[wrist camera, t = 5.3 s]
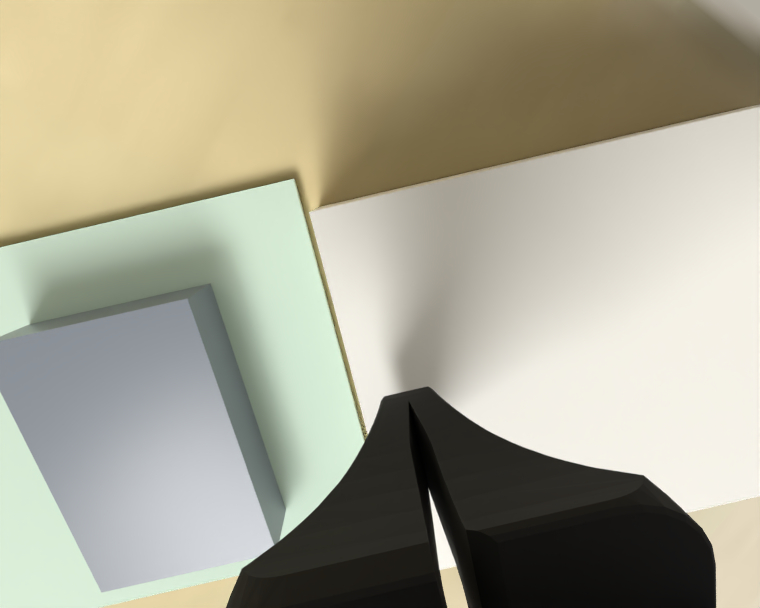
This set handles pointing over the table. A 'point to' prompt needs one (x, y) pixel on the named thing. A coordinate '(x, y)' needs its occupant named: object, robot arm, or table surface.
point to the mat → (249, 343)
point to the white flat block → (573, 303)
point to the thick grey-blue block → (145, 436)
